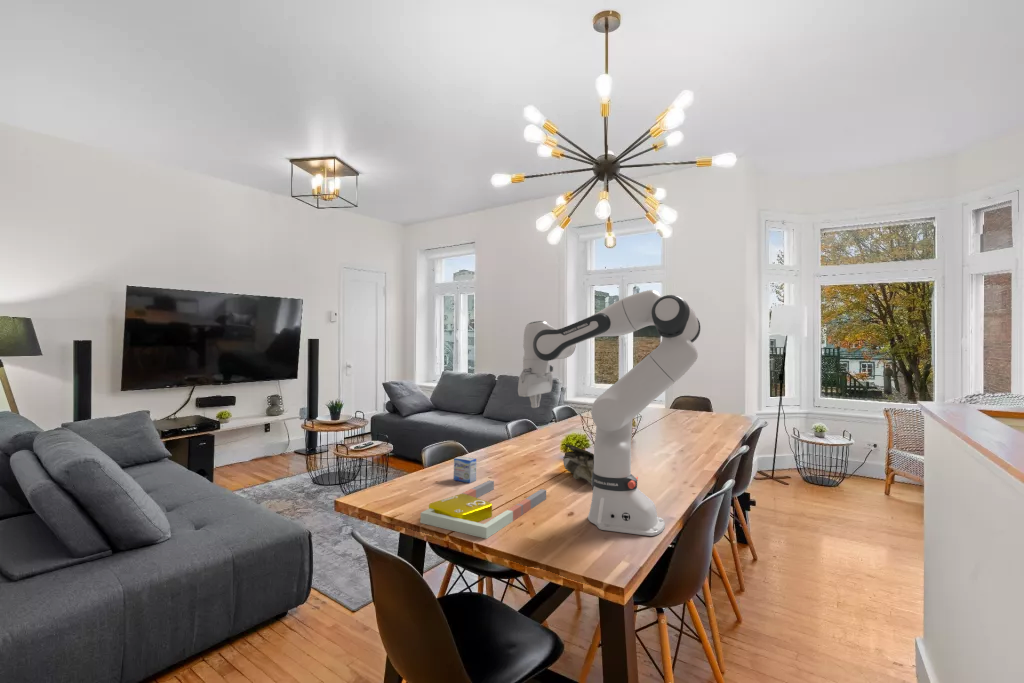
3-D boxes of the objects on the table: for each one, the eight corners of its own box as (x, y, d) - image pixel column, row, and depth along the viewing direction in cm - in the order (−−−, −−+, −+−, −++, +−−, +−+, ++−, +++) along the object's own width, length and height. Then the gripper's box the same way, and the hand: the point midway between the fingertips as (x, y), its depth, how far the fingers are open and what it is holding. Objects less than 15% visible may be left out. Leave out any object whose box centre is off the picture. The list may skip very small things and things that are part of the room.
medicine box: (453, 480, 187) (453, 458, 187) (459, 477, 191) (459, 455, 191) (470, 483, 183) (470, 460, 183) (476, 480, 187) (476, 458, 187)
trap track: (546, 498, 166) (546, 490, 166) (486, 538, 132) (486, 527, 132) (489, 488, 177) (489, 480, 177) (420, 522, 143) (420, 512, 143)
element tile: (462, 505, 159) (462, 491, 159) (494, 517, 149) (495, 501, 149) (425, 517, 148) (426, 502, 148) (457, 531, 138) (458, 514, 138)
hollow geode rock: (567, 481, 204) (545, 457, 200) (586, 458, 207) (565, 434, 204) (603, 499, 178) (578, 472, 174) (624, 473, 181) (600, 446, 178)
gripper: (530, 369, 158) (529, 411, 158) (555, 366, 176) (555, 404, 176) (513, 368, 161) (513, 410, 161) (539, 366, 179) (539, 403, 179)
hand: (535, 407), depth 168 cm, fingers closed
